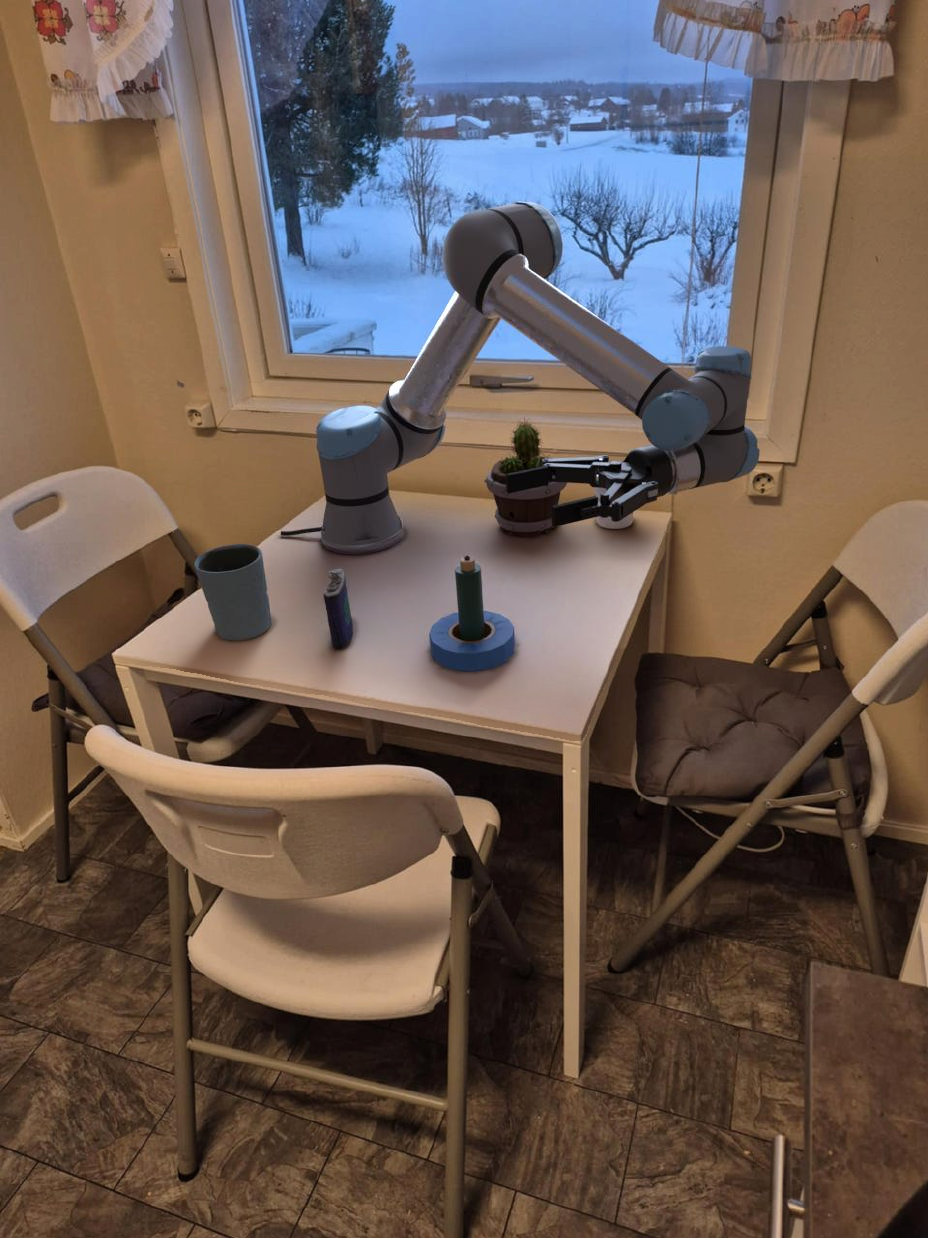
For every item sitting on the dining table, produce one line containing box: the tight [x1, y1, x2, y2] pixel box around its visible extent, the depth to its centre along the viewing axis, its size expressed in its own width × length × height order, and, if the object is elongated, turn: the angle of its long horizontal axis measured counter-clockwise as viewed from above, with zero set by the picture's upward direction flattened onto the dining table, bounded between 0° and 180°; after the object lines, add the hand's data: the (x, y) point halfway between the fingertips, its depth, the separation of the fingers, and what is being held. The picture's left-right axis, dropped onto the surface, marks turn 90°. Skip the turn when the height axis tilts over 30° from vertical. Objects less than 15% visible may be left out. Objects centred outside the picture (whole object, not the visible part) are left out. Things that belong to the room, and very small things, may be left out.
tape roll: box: [429, 610, 516, 672], centre depth 123 cm, size 12×12×3 cm
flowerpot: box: [484, 417, 568, 537], centre depth 156 cm, size 14×15×20 cm
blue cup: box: [194, 543, 272, 642], centre depth 131 cm, size 10×10×12 cm
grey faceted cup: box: [593, 475, 634, 530], centre depth 157 cm, size 8×8×10 cm
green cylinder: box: [454, 555, 485, 641], centre depth 120 cm, size 4×4×15 cm
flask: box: [322, 568, 354, 651], centre depth 127 cm, size 9×3×11 cm, turn 1°
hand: (528, 499), depth 117 cm, fingers open, 13 cm apart
